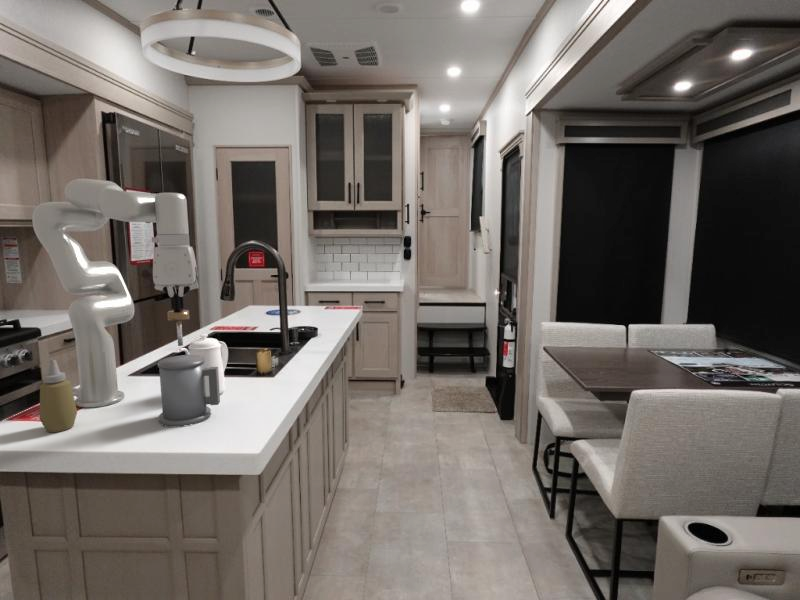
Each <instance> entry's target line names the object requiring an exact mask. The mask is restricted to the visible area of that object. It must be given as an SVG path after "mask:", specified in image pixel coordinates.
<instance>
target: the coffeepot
mask: <svg viewBox="0 0 800 600" xmlns="http://www.w3.org/2000/svg"><path fill="white" fill-rule="evenodd" d="M208 336H209V335H208V334H207V333H204V334H203V333H202V334H200V338H197V339H196V338H195V339H194V340H192V341H191V342H190V344H189V345H188V346H187V347H188V348H185V347H182V348H178V349H177V351H176V352H177V353H180V352H185V355H199V356H203V357H204V358H205V362H204V368H210V367H218V376H219V393H220V395H222V394H223V393H224V392H225V391H226V380H225V379H226V378H225V370H226V368H227V364H228V362H229V361H228V360H229V349H228V346H227V344H226V342H224V341H221V340H218V339H217V338H213V337H208ZM205 390H206V396H210V389H209V376H205Z"/></svg>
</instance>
